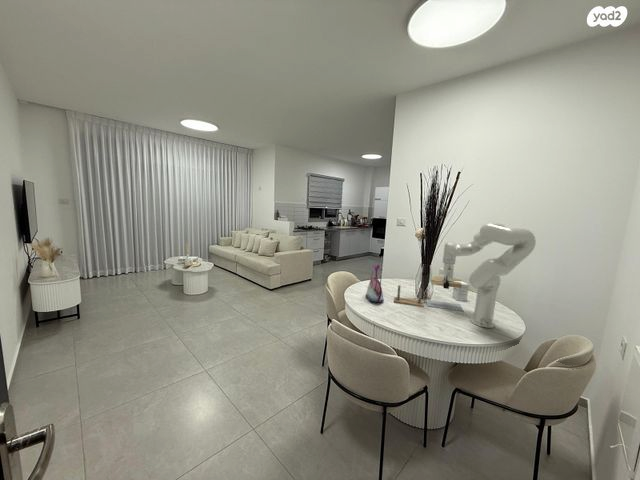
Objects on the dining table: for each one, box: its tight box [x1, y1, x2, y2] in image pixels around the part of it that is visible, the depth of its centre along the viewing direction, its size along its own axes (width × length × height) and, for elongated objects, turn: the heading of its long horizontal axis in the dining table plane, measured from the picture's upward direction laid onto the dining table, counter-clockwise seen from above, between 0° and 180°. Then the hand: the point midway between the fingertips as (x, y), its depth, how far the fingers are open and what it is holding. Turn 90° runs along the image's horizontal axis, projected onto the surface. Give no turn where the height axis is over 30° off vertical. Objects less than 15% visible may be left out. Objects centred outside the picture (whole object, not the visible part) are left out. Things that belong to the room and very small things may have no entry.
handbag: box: [365, 264, 385, 303], centre depth 187 cm, size 21×10×25 cm, turn 7°
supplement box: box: [451, 280, 470, 302], centre depth 195 cm, size 7×7×13 cm
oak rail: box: [431, 278, 462, 288], centre depth 180 cm, size 3×18×3 cm, turn 73°
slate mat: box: [425, 299, 465, 312], centre depth 182 cm, size 12×22×1 cm, turn 73°
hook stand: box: [393, 284, 425, 308], centre depth 185 cm, size 10×19×10 cm, turn 73°
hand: (445, 287), depth 180 cm, fingers closed on oak rail, 3 cm apart
